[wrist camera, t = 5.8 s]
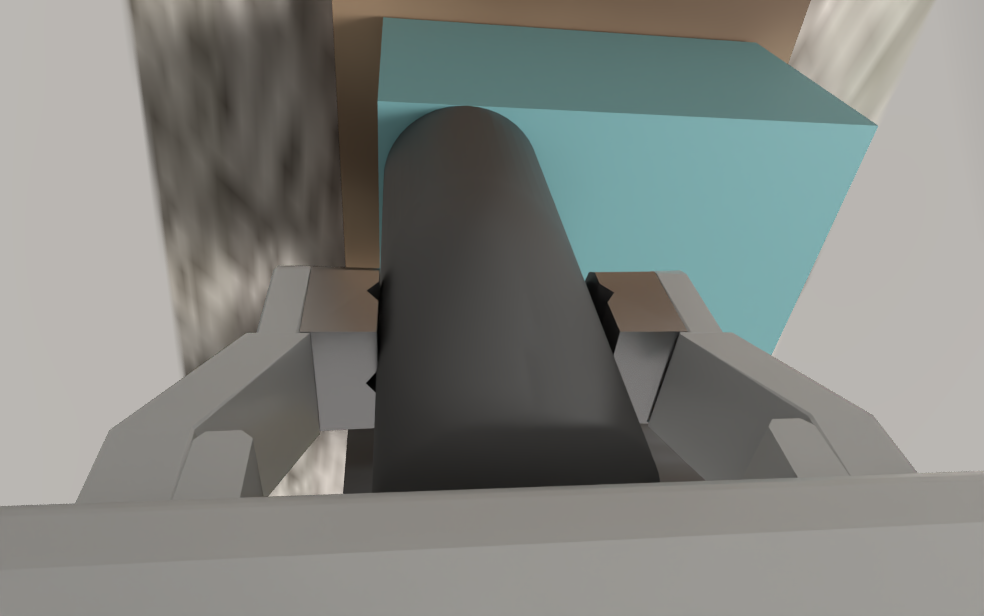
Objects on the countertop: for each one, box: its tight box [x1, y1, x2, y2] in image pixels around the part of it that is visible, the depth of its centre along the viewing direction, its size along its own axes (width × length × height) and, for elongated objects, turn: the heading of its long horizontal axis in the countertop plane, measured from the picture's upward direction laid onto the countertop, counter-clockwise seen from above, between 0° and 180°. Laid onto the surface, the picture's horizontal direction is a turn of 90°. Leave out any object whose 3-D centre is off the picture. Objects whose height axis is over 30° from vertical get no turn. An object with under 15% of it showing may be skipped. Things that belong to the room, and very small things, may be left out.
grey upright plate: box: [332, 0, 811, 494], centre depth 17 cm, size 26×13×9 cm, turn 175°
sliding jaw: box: [372, 17, 878, 493], centre depth 14 cm, size 7×10×14 cm
